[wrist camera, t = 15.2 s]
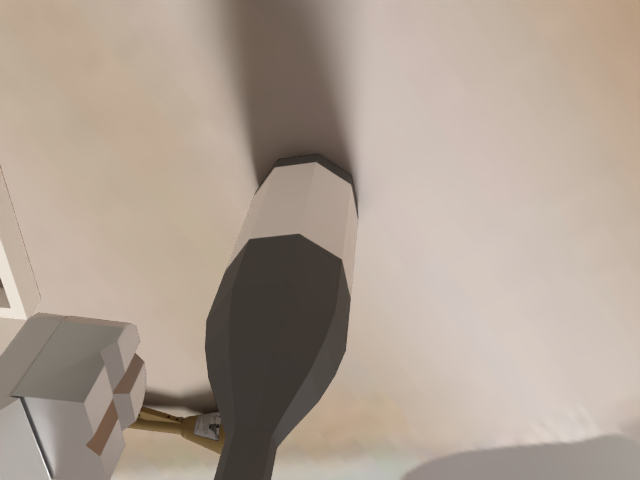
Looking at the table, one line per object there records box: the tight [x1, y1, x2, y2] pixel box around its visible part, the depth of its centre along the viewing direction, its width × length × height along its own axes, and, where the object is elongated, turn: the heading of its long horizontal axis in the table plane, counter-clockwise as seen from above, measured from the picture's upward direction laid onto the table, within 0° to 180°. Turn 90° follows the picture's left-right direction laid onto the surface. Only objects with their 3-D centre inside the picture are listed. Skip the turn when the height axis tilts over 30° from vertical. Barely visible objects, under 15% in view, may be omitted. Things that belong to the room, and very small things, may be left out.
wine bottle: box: [205, 154, 358, 480], centre depth 34 cm, size 8×8×30 cm
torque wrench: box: [127, 406, 226, 454], centre depth 63 cm, size 5×35×5 cm
